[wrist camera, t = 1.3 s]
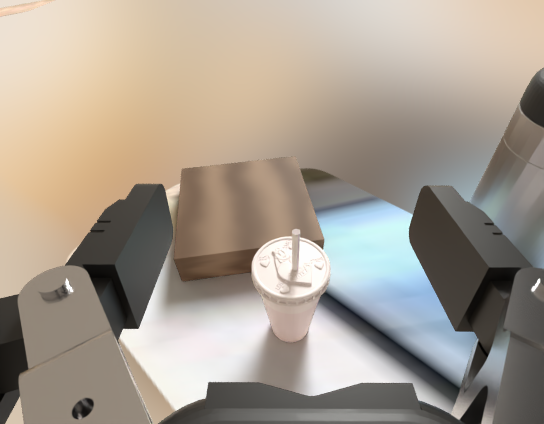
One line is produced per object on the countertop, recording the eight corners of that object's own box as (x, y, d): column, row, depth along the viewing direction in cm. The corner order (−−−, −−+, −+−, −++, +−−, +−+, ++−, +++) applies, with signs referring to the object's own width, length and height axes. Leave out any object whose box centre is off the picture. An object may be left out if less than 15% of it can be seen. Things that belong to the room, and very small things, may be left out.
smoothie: (285, 371, 30) (284, 280, 20) (245, 319, 34) (228, 222, 24) (336, 329, 33) (356, 231, 23) (293, 286, 36) (295, 186, 27)
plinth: (294, 178, 50) (295, 156, 47) (321, 262, 39) (324, 239, 36) (187, 191, 49) (181, 168, 46) (182, 281, 37) (173, 259, 35)
